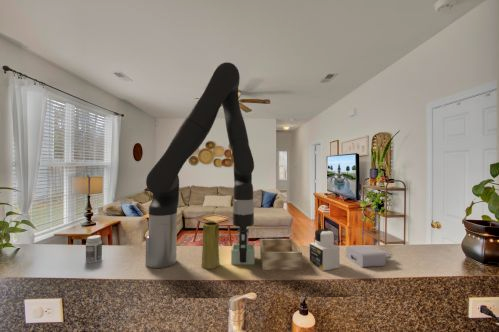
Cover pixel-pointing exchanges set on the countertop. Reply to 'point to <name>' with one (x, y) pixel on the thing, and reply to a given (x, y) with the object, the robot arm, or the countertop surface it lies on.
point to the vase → (210, 245)
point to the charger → (367, 256)
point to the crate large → (280, 254)
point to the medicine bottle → (324, 251)
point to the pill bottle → (93, 249)
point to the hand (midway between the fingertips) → (243, 257)
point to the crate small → (236, 254)
